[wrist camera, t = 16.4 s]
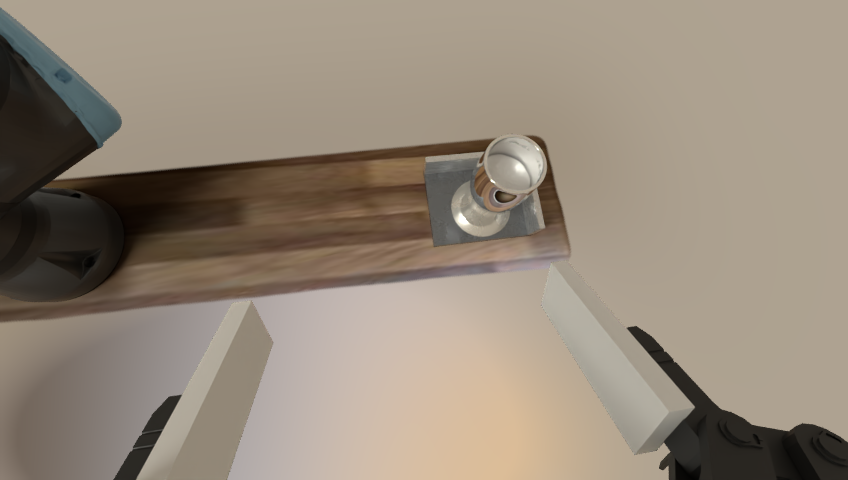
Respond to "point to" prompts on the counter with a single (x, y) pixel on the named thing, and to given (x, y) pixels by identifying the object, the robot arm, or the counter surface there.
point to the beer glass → (503, 178)
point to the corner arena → (444, 195)
